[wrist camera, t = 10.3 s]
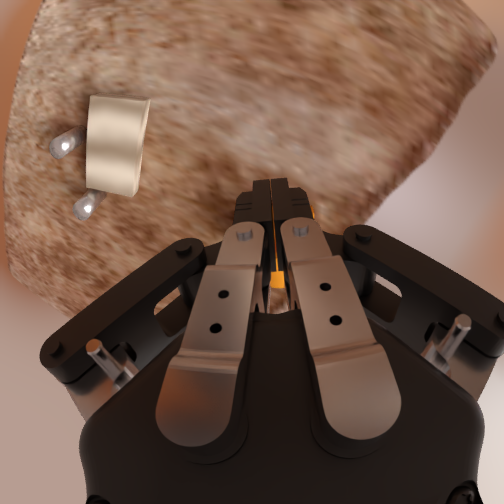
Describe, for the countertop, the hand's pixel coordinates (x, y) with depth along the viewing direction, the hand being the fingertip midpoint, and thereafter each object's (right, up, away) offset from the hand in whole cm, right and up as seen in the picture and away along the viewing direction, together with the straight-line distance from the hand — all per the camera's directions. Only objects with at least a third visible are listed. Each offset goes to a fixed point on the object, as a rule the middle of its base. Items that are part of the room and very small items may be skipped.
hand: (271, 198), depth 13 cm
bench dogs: (-26, +11, +24) cm, 37 cm away
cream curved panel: (-20, +13, +23) cm, 33 cm away
